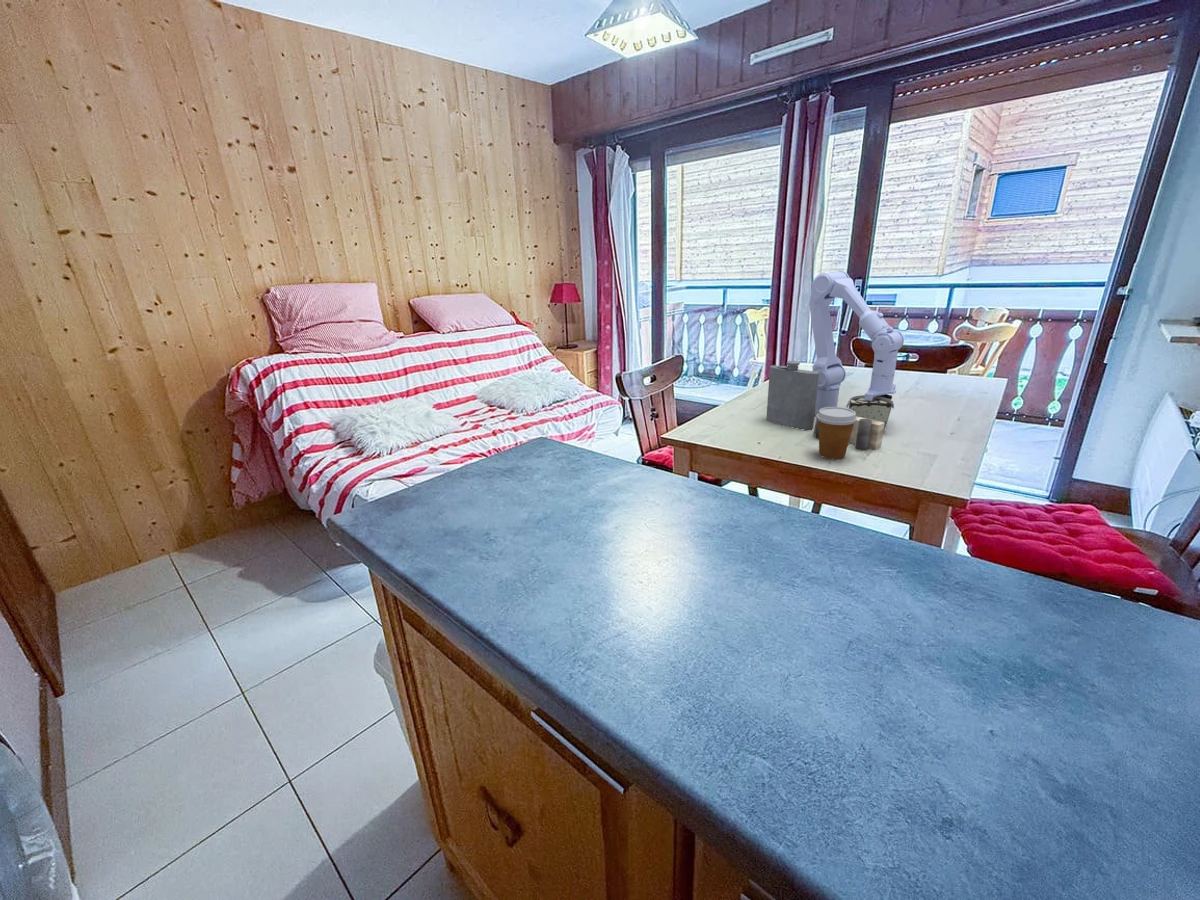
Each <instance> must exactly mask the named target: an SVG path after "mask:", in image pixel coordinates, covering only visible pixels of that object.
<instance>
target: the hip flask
mask: <svg viewBox="0 0 1200 900" xmlns="http://www.w3.org/2000/svg"><path fill="white" fill-rule="evenodd" d="M800 363H801V362H800V361H798V360H788V361H787V362H786V365H775V364H773V365H770V366H769V372H768V373H769V375H768V376H769V378H768V387H767V389H768V391H767V402H766V403H767V404H766V405H767V406H766V415H765V416H766V421H767V422H771V423H773V424H775V425H776V424H777V425H779V424H780V426H783V425H784V427H787V426H788V428H791V427H793V428H792V429H796V428H798V429H797V430H801V429H804V430H803V431H807V430H811V431H813V430H814V428H815V418H816V415H815V408H816V399H817V390H818V380H819V372H816V371H813V370H805V369H799V366H800ZM812 429H813V430H812Z"/></svg>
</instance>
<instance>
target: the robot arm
mask: <svg viewBox="0 0 1200 900" xmlns="http://www.w3.org/2000/svg"><path fill="white" fill-rule="evenodd" d="M810 288H811V294H810V298H809V303H808V306H809V312H810V319H811V325H812V333H813V340H814V348H815V352H816V353H815V354H816V360H815V362H814V363H813V364H812V367H811V368H812V371H816V372H819V380H818V390H817V399H816V408H815V416H816V411H818V410H820V409H822V408H826V407H838V402H839V396H840V395H839V394H840V387H841V385H842V384H841V383H844V381H845V379H846V376H847V372H846V369H845V367H844V366H843V364H842V359H840V358H839V357H838V356H837V355H836V354H837V353H836V347H835V341H834V334H833V326H832V319H831V312H830V305H831V304H832V302H833V301H834V300H835V299H837V298H838V299H842V300H843V302H845V303H846V304H847V306H849V307H850V309H851V310H852V311H853V312H854V313H855V314H856V315H857V317H858V318H859V321H858V325H859V326H860V328H861V329H862V330H863V331H864V333H865V334H866V335H867V336H868V338H869V339H870V340H871V348H872V350H873V352H874V355H873V357H874V358H873V364H872V372H871V379H870V384H869V388H868V390H867V392H865V393H864V395H865V396H864V400H868V401H872V400H873V398H876V396H880V397H884V398H888V399H890V400H892V399H893V396H892V395H894V394H896V393H897V390H896V386H897V384H896V383H895V384H894V378H895V373H896V367H897V360H898V356H899V355H898V354H899V350H900V349H901V348H902V347H903V346H904V340H905V339H904V336H903V335H902V332H901V331H899V330H897V329H896V330H895V329H894V327H893V326H891V325H889V324H888V323H887V321H886V320H885V318H884V314H883V313H882V312H879V311H878V310H871V308H870V306H869V305H868V304H867V302H866V301H865V300H864V298H863V297H862V295H861V293H860V292H859V290H858V289H857V287H856V286H855V284H854V280H853V279H852V278H851V277H850V276H849V274H848V273H847V272H846V271H842V270H840V271H838V270H837V271H835V272H823V273H822V272H821V273H819V274H818V275H816V276H815V278H814V279H813V281H812V282H811V283H810Z"/></svg>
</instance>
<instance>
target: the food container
mask: <svg viewBox="0 0 1200 900" xmlns="http://www.w3.org/2000/svg"><path fill="white" fill-rule="evenodd" d="M864 396H865V394H864V395H861V394H860V395H855V396H852V397H850V398H849V399H848V401H847V404H846V406H845V408H847V409H851V410H853V411H855V413H856V416H857V417H862V418H866V419H871V420H875V421H880V422H885V425H884V431H883V435H884V434H885V431H886V427H887V424H888V420H889V417H890V415H891V411H892V409H895V405H894V404H895V403H894V401H893V400H892V399H891V400H890V399H888V398H884V397H880V396H876V398H873V400H872V401H868V400H864Z"/></svg>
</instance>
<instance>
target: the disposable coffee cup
mask: <svg viewBox="0 0 1200 900" xmlns="http://www.w3.org/2000/svg"><path fill="white" fill-rule="evenodd" d="M817 418H818V428H819V429H818V430H819V439H818V454H819V456H821V457H822V456H823V458H825V457H826V459H829V458H830V459H831V460H840V458H841V459H844V458H845V457H846V453H847V450H848V446H849V444H850V443H849V440H850V436H851V433H852V429H853V426H854V423H855V421H856V420H857V417H856V413H855V411H853V410H851V409H849V408H847V407H840V406H837V407H826V408H822V409H820V410H819V413H818V414H817Z"/></svg>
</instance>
